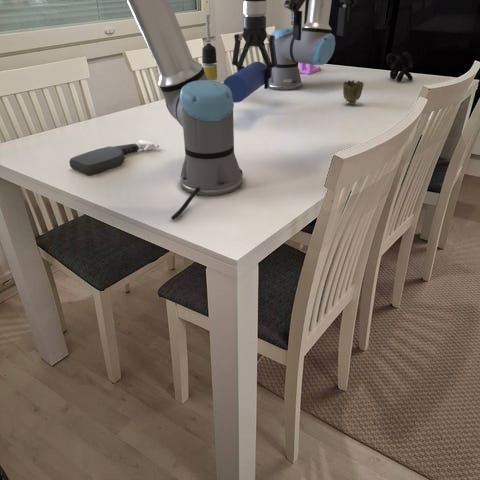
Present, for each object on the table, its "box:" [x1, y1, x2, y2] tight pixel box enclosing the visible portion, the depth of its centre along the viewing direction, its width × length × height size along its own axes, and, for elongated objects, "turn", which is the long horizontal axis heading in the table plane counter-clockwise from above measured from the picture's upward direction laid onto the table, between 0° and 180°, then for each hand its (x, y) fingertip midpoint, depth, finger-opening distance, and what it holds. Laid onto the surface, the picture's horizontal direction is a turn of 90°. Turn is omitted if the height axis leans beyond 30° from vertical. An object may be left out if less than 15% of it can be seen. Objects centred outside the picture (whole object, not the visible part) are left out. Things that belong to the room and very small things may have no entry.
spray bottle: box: [68, 139, 160, 177], centre depth 124 cm, size 3×11×24 cm
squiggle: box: [385, 51, 414, 83], centre depth 198 cm, size 11×10×15 cm
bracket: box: [298, 63, 321, 75], centre depth 218 cm, size 13×6×7 cm, turn 143°
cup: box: [342, 80, 365, 106], centre depth 166 cm, size 8×7×8 cm
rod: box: [222, 61, 267, 104], centre depth 149 cm, size 24×8×8 cm, turn 160°
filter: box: [201, 14, 218, 81], centre depth 171 cm, size 6×6×30 cm
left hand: (319, 37), depth 115 cm, fingers open, 13 cm apart
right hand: (254, 87), depth 157 cm, fingers closed on rod, 8 cm apart
